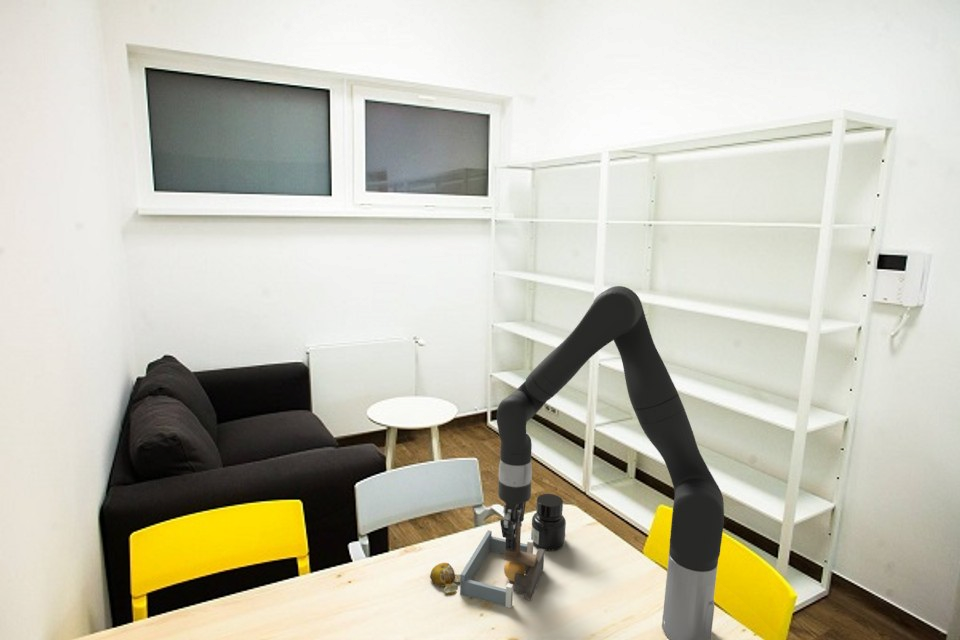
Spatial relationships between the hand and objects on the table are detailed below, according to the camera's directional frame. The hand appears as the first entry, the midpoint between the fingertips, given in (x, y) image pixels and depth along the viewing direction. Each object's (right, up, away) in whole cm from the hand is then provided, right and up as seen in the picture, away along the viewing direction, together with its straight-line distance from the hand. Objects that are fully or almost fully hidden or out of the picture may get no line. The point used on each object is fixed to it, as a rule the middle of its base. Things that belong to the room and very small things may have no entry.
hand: (512, 545), depth 127 cm
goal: (-3, -8, +3) cm, 9 cm away
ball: (0, -6, +1) cm, 6 cm away
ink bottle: (+10, -6, +17) cm, 21 cm away
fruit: (-15, -9, 0) cm, 18 cm away
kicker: (+2, -8, +1) cm, 9 cm away
